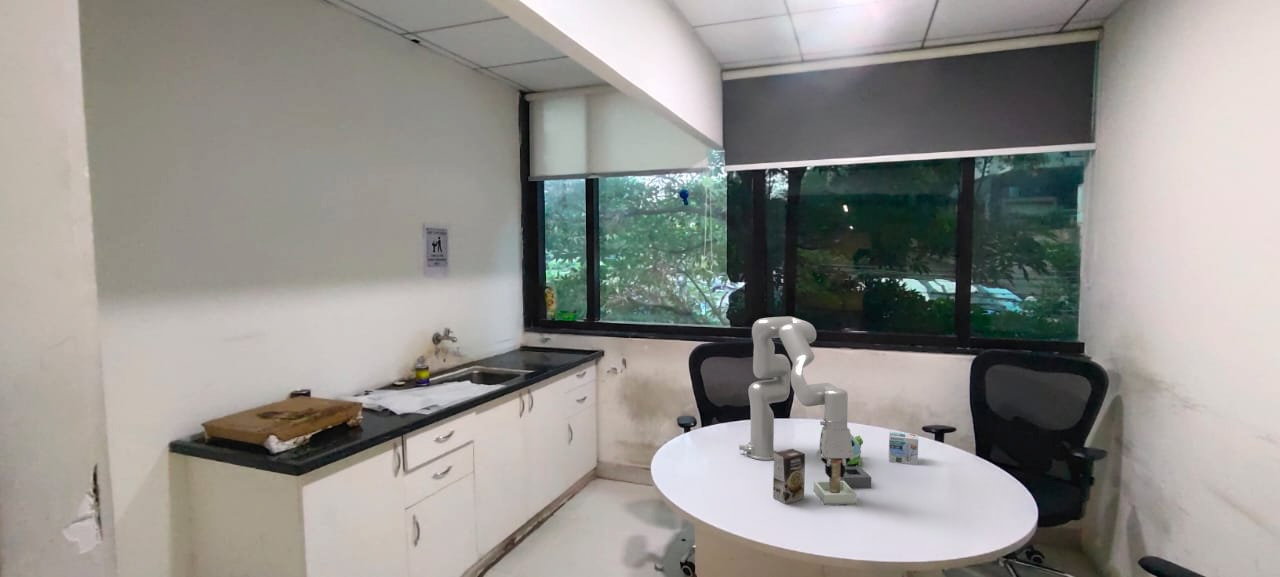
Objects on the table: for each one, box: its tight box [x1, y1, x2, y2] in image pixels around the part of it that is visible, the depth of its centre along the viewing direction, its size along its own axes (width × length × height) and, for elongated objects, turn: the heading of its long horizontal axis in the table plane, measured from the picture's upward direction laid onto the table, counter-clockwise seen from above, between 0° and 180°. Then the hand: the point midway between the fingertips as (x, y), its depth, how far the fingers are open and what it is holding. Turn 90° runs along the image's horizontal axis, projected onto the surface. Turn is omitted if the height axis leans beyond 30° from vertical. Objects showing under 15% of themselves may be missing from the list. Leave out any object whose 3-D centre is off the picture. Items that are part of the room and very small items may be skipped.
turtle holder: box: [845, 433, 864, 467], centre depth 222 cm, size 12×18×12 cm
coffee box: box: [772, 448, 806, 505], centre depth 190 cm, size 9×6×16 cm
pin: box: [828, 459, 842, 493], centre depth 190 cm, size 4×4×12 cm
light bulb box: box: [888, 431, 919, 466], centre depth 223 cm, size 11×7×11 cm, turn 68°
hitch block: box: [840, 465, 872, 489], centre depth 203 cm, size 10×10×4 cm
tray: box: [813, 480, 858, 506], centre depth 191 cm, size 11×11×4 cm
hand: (834, 475), depth 190 cm, fingers closed on pin, 3 cm apart
